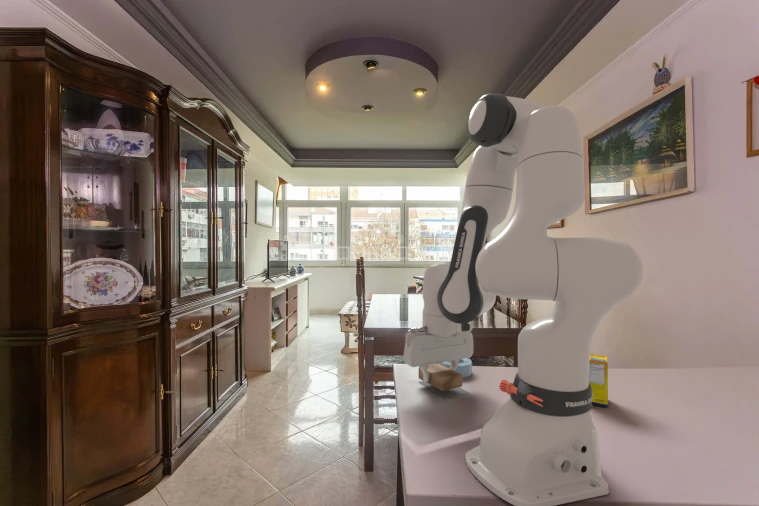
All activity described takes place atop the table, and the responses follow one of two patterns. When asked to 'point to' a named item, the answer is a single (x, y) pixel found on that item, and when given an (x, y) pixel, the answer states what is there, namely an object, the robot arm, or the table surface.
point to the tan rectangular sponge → (443, 377)
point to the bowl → (461, 367)
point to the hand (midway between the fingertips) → (439, 378)
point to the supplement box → (599, 379)
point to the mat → (447, 393)
